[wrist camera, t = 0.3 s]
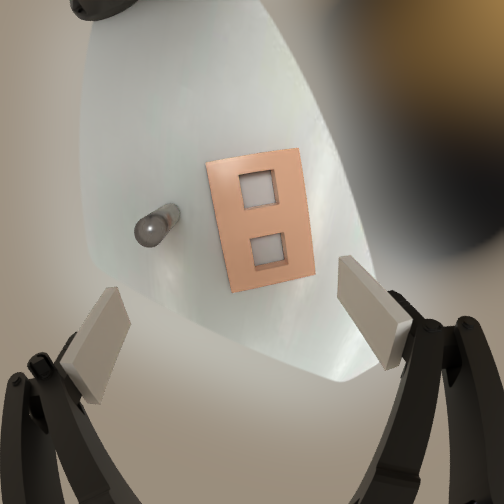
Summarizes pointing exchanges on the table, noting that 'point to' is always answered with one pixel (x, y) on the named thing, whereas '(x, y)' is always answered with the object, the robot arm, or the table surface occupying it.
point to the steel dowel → (156, 225)
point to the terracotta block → (262, 218)
